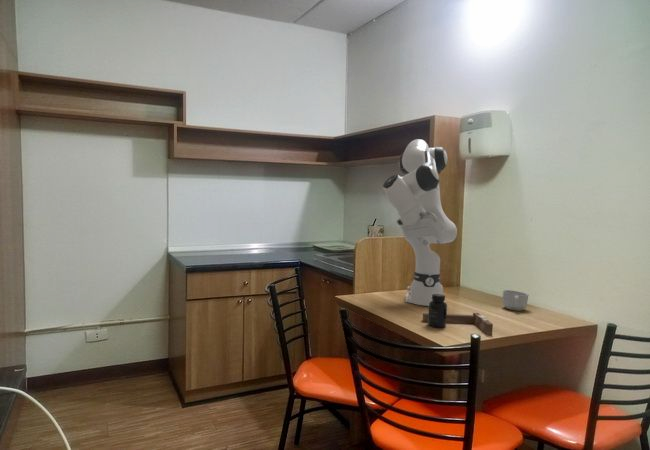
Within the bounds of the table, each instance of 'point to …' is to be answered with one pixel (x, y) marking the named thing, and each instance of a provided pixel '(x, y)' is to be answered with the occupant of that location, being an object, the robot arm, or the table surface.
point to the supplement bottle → (437, 311)
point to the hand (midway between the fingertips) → (433, 244)
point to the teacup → (514, 300)
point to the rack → (468, 321)
